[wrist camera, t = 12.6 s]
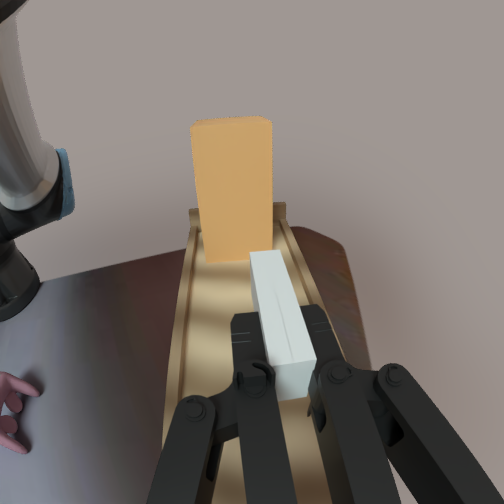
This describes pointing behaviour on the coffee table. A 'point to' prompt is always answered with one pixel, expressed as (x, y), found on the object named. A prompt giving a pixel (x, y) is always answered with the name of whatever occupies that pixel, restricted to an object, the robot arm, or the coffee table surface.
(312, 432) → the beam
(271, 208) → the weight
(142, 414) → the coffee table surface
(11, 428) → the video game controller
